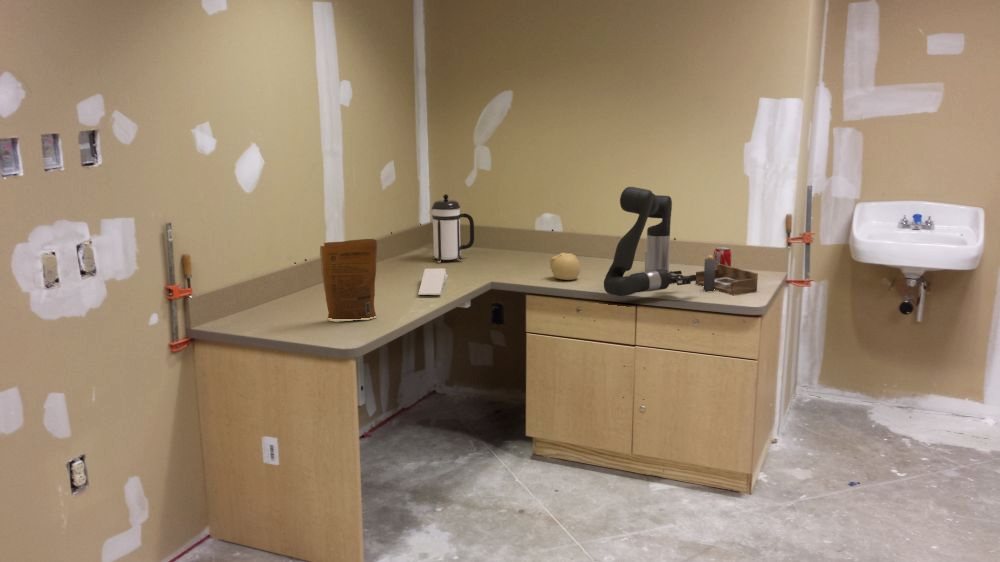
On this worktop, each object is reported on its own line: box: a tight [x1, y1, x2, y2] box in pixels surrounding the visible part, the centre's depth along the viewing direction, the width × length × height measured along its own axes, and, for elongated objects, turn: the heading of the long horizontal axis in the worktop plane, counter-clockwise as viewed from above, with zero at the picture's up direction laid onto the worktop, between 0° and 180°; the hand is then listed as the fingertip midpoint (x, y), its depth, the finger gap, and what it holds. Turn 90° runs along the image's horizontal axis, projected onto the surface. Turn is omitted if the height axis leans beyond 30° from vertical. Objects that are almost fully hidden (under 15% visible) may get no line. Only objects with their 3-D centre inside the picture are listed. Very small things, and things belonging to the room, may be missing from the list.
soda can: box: [712, 246, 732, 269], centre depth 362 cm, size 7×7×12 cm
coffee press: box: [428, 193, 475, 262], centre depth 398 cm, size 17×16×30 cm
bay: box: [695, 264, 759, 296], centre depth 343 cm, size 21×12×7 cm, turn 29°
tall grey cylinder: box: [702, 255, 716, 292], centre depth 339 cm, size 4×4×14 cm
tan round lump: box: [549, 252, 581, 281], centre depth 361 cm, size 11×12×11 cm
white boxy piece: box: [417, 268, 449, 296], centre depth 347 cm, size 10×7×28 cm
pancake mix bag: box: [319, 238, 378, 319], centre depth 299 cm, size 7×19×28 cm, turn 101°
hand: (688, 275), depth 334 cm, fingers open, 8 cm apart
